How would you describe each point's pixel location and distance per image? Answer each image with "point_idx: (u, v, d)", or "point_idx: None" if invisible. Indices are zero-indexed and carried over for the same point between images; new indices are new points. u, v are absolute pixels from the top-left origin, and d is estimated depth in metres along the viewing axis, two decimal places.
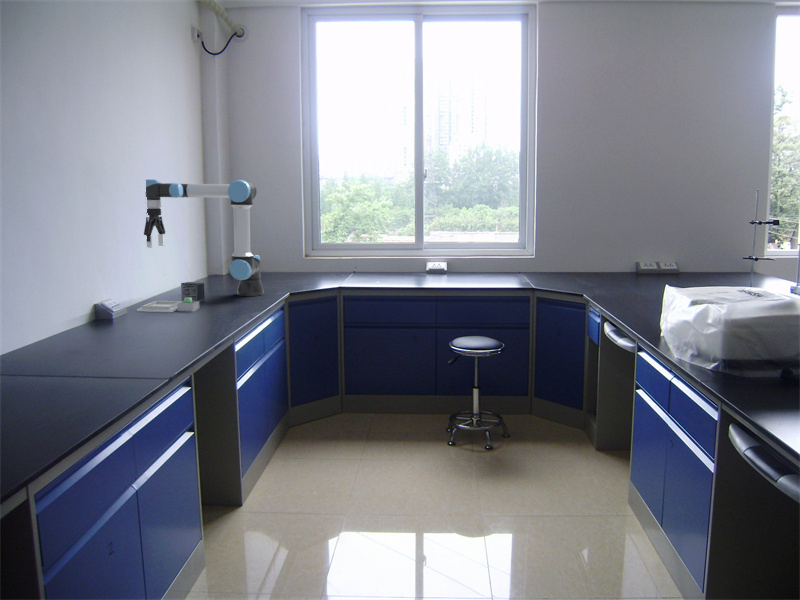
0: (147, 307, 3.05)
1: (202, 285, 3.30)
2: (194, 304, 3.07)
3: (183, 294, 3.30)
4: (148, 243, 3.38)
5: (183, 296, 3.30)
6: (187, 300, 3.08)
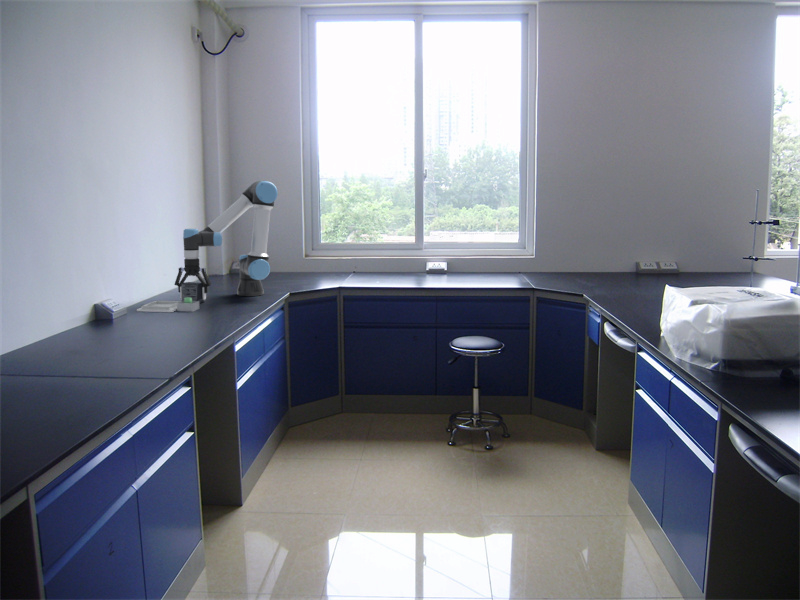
0: (147, 307, 3.05)
1: (202, 285, 3.30)
2: (194, 304, 3.07)
3: (183, 294, 3.30)
4: None
5: (183, 296, 3.30)
6: (187, 300, 3.08)
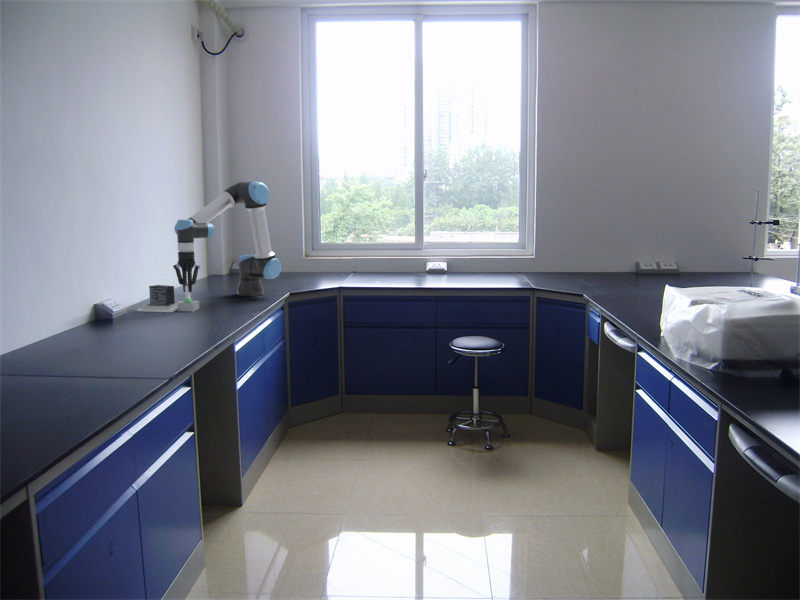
0: (147, 307, 3.05)
1: (172, 288, 3.11)
2: (194, 304, 3.07)
3: (151, 298, 3.10)
4: None
5: (151, 300, 3.10)
6: (187, 301, 3.08)
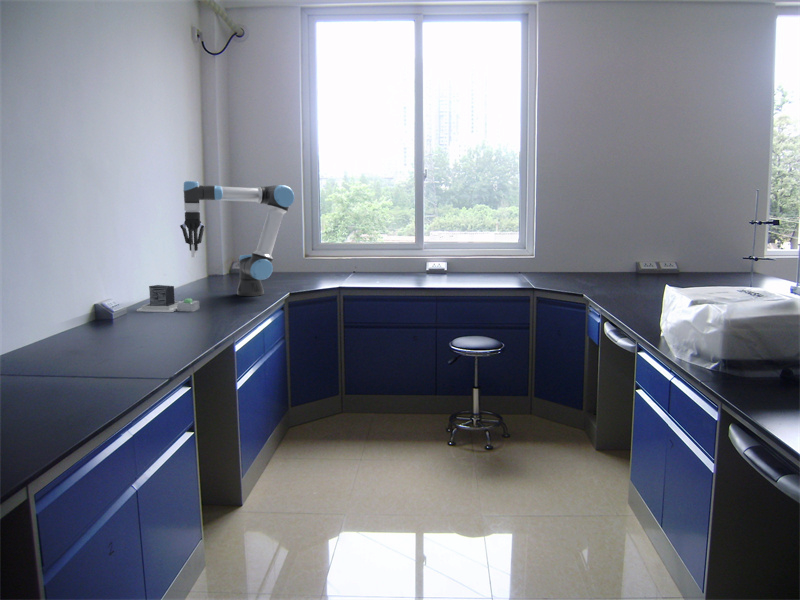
0: (147, 307, 3.05)
1: (172, 288, 3.11)
2: (194, 304, 3.07)
3: (151, 298, 3.10)
4: None
5: (151, 300, 3.10)
6: (187, 301, 3.08)
